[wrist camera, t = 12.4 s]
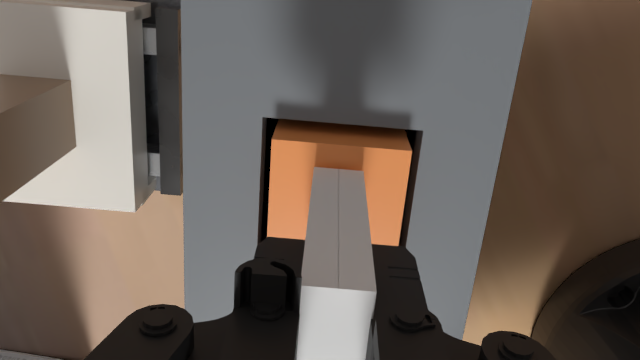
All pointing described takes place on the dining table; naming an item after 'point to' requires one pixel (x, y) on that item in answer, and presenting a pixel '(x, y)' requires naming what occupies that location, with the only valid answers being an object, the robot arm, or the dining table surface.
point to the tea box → (22, 356)
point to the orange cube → (339, 153)
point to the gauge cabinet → (346, 122)
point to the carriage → (73, 104)
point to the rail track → (163, 94)
